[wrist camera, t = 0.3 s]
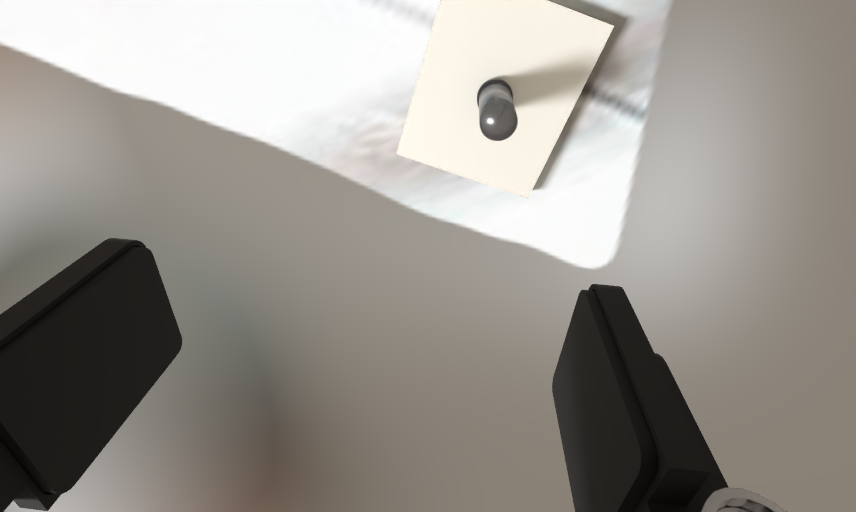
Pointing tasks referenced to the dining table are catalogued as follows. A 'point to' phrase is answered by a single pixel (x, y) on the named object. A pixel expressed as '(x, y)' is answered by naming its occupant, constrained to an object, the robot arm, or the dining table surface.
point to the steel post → (496, 110)
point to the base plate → (510, 61)
